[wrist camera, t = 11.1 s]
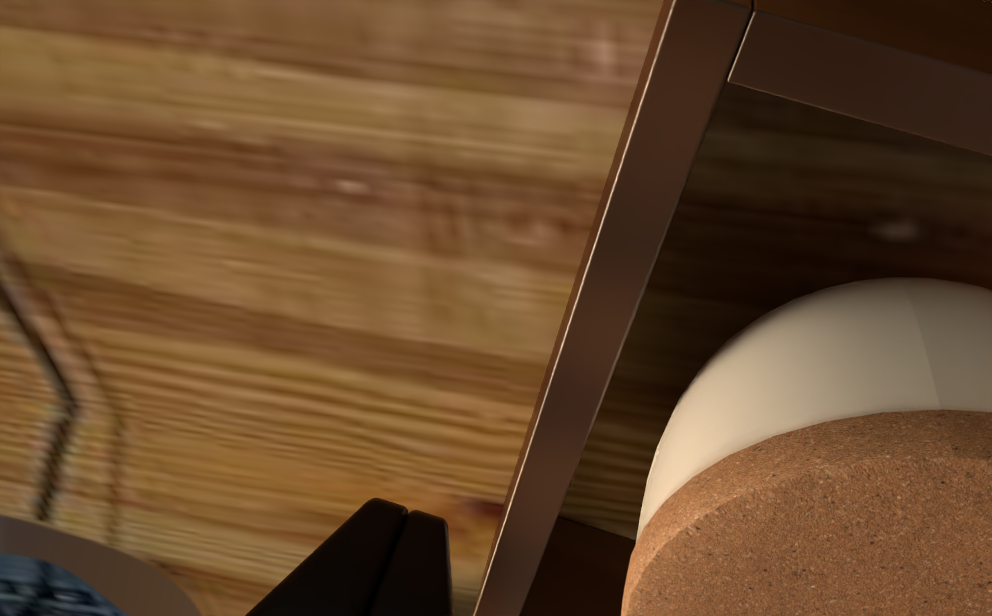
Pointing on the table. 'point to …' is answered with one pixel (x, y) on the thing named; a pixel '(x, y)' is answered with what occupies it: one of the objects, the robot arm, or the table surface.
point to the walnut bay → (652, 204)
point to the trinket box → (829, 463)
